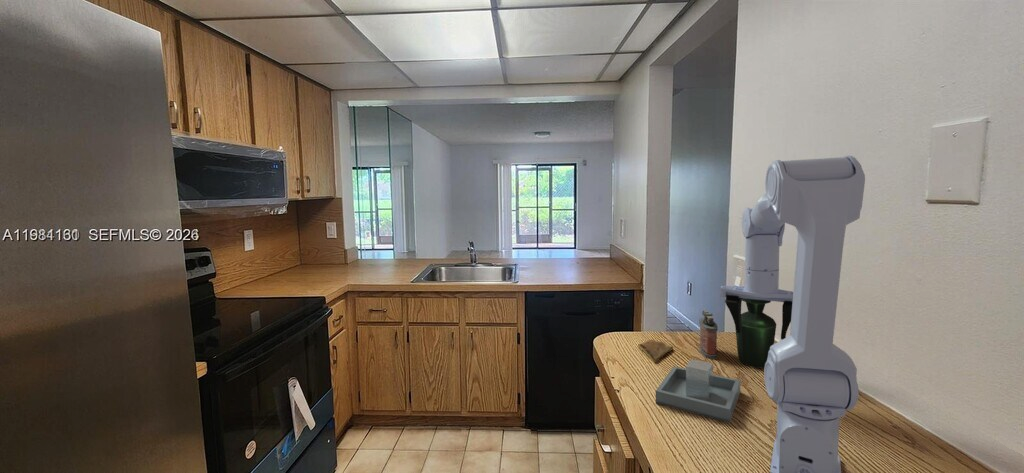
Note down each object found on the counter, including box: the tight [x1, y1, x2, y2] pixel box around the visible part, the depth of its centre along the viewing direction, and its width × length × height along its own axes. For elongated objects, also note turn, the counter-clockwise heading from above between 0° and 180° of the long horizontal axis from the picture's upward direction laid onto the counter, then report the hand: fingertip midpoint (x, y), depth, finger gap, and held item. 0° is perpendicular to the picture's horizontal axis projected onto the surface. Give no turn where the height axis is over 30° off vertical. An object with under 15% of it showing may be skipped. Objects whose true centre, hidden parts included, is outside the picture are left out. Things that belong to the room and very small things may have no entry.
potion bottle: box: [735, 298, 777, 369], centre depth 92 cm, size 8×8×18 cm
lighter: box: [698, 309, 718, 360], centre depth 99 cm, size 8×3×10 cm, turn 168°
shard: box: [637, 339, 674, 364], centre depth 101 cm, size 11×8×2 cm
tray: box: [655, 366, 742, 424], centre depth 78 cm, size 13×13×2 cm
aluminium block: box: [685, 358, 714, 402], centre depth 78 cm, size 4×4×6 cm
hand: (760, 334), depth 82 cm, fingers open, 7 cm apart
